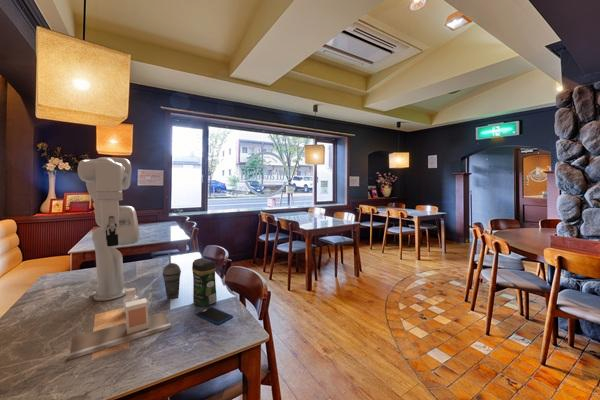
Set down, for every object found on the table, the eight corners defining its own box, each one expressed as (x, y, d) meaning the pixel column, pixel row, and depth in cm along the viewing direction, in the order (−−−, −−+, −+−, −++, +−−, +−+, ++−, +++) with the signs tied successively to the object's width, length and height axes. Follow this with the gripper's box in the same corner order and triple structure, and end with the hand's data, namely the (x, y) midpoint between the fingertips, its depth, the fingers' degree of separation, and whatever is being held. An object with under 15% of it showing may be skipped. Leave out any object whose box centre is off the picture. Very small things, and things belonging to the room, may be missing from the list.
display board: (69, 364, 72) (68, 356, 72) (73, 341, 82) (72, 334, 82) (171, 331, 88) (171, 324, 88) (163, 316, 98) (163, 309, 98)
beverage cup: (174, 302, 109) (172, 256, 108) (159, 301, 111) (157, 255, 109) (185, 295, 116) (183, 251, 115) (171, 294, 118) (169, 251, 117)
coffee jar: (190, 302, 109) (188, 259, 108) (206, 296, 116) (205, 255, 114) (203, 309, 103) (201, 263, 102) (219, 302, 110) (218, 259, 109)
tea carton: (126, 328, 87) (125, 302, 87) (147, 322, 91) (145, 297, 90) (127, 334, 84) (126, 307, 83) (148, 328, 87) (147, 302, 87)
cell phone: (211, 308, 105) (210, 306, 105) (234, 317, 98) (234, 315, 97) (194, 315, 99) (194, 313, 99) (218, 326, 91) (218, 324, 91)
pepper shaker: (129, 310, 103) (128, 287, 102) (139, 310, 103) (138, 287, 102) (123, 316, 99) (121, 291, 98) (134, 315, 99) (133, 291, 98)
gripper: (96, 194, 98) (98, 239, 99) (96, 198, 84) (99, 250, 86) (120, 194, 102) (122, 236, 104) (124, 197, 89) (126, 246, 90)
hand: (112, 242), depth 95 cm, fingers open, 9 cm apart
